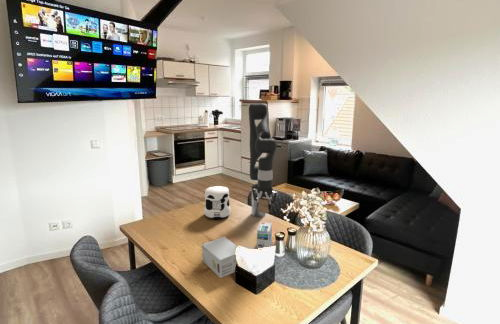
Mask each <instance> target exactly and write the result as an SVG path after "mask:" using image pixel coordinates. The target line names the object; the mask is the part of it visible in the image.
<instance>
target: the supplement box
mask: <svg viewBox="0 0 500 324" xmlns="http://www.w3.org/2000/svg"><path fill="white" fill-rule="evenodd" d="M237 247H239V246H238V245H236V244H235V243H234V242H232V241H231V240H230V239H229V238H227V237H226V236H221V237H218V238H216V239H214V240H211V241H207V242H205V243H202V244H201V253H202V257H201V258H202V262H203V263H204V264H205V265H206V266H207V267H208V268H209V269H211V270H212V272H213V273H214V274H216V276H217V277H219V278H220V279H222V278H223V277H226V276H229V275H231V274H234V273H235V267H236V255H235V250H236V248H237Z"/></svg>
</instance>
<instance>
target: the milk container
mask: <svg viewBox="0 0 500 324" xmlns="http://www.w3.org/2000/svg"><path fill="white" fill-rule="evenodd" d="M204 191H205V192H204V201H205V203H204V208H203V211H204V215H205V216H206V218H208V219H212V220H213V219H214V220H220V219H224V218H226V217H228V216H229V215H230V214H231V210H232V209H231V204H230V190H229V188H228V187H226V186H221V185H217V186H215V185H214V186H209V187H207V188H206V189H205V190H204Z"/></svg>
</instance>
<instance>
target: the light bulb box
mask: <svg viewBox="0 0 500 324" xmlns="http://www.w3.org/2000/svg"><path fill="white" fill-rule="evenodd" d="M272 238H273V223H272V222H263V221H260V222H259V224H258V227H257V229H256V249H257V248H263V247H269V246H270V247H271V245H272V240H273V239H272Z"/></svg>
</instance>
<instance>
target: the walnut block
mask: <svg viewBox="0 0 500 324" xmlns="http://www.w3.org/2000/svg"><path fill="white" fill-rule="evenodd" d="M258 212H262V213H265V214H269V213H270V211H269V200H267V198H265V197H261V198H260V199H259V201H258Z"/></svg>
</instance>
